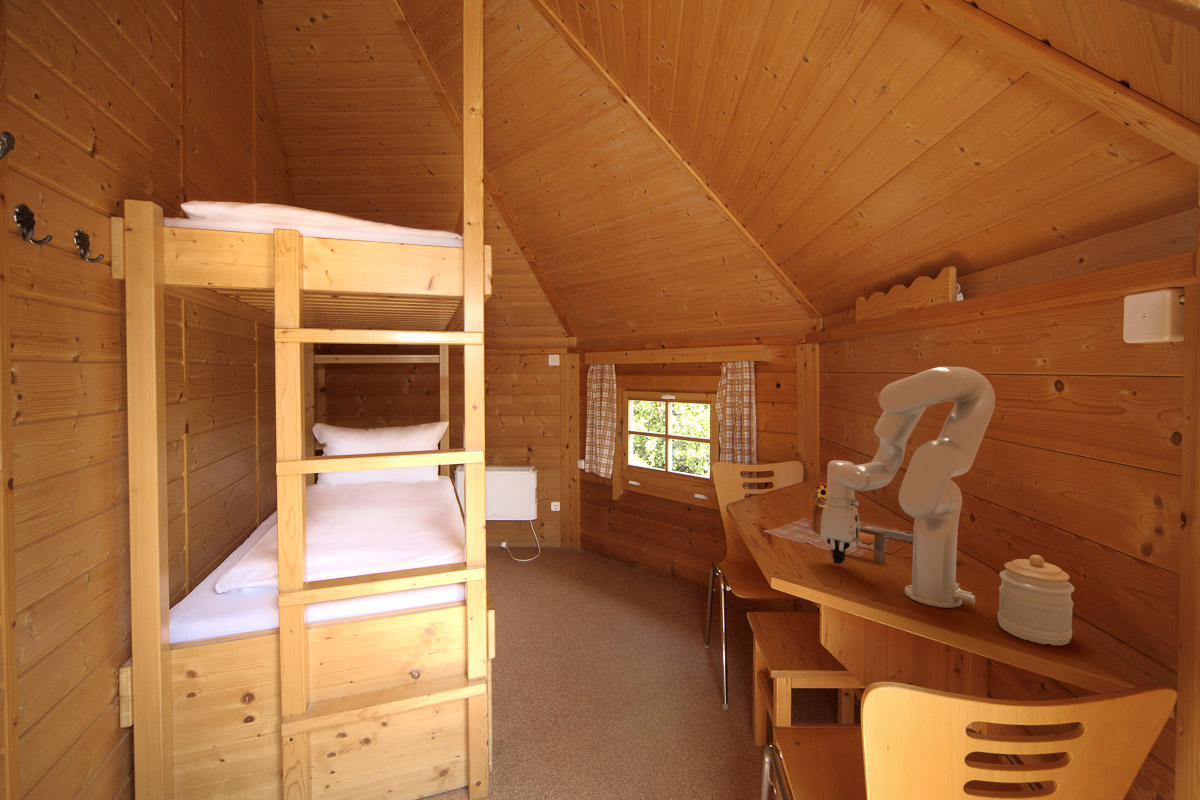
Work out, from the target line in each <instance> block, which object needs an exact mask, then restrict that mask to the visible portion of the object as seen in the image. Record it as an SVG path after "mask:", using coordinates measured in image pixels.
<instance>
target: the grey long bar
mask: <svg viewBox="0 0 1200 800" xmlns="http://www.w3.org/2000/svg"><path fill="white" fill-rule="evenodd" d="M867 527H870V528H872V529H877V530H882V531H885V536H889V537H894V538H898V539H902V540H907V541H912V542H913V535H914V534H912V533H905V532H901V531H896V530H892V529H891V530H890V529H887V528H882V527H876V526H872V525H868V526H867Z"/></svg>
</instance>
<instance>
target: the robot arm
mask: <svg viewBox="0 0 1200 800" xmlns="http://www.w3.org/2000/svg"><path fill="white" fill-rule="evenodd" d="M944 402H945V403H946V402H954V405H953V407H952V409H951V411H950V412H949V413H948V415H947V416H946V419H945V421H944V423H943V425H942V428H941V431H940V433H939V435H938V437H937V439H933V440H929V441H926V442H924V443H922V444H921V445H919V447H917V449H916V450H915V451H914V452H913V455H912V457H911V459H910V462H909V465H908V467H907V469H906V472H905V475H904V477H903V480H902V483H901V485H900V487H899V491H898V503H899V505H900V508H901V509H902V510H903V512H904V513H905V514H906V515H908V516H909V517H911V518H914V523H913V534H912V535H913V543H912V544H913V545H912V567H911V568H912V572H911V584H909V585H906V586H905V587H904V594H905V595H906V596H907V597H908V598H909V597H910V598H909V599H911V600H913V601H916V602H917V603H921V604H922V605H923V604H924V605H928V606H932V607H937V608H945V609H948V608H949V609H950V608H951V609H952V608H958V607H960V606H961V605H963V601H964V602H967V603H970V604H975V603H976V595H975V594H974V595H973V592H970V591H967V590H966V591H965V590H962V588H960V583H958V582H956V580H957V579H956V578H957V577H956V575H957V554H958V553H957V552H958V550H957V549H958V548H957V547H958V531H959V530H958V529H959V521H960V516H961V515H960V514H961V510H962V506H963V497H962V496H963V495H962V491H961V489H960V487H959V485H957V484H956V483H955V481H953V480H951V479H952V478H953V477H958V476H961V475H964V474H966V473H968V471H970V470H971V467H972V466H973V463H974V461H975V458H976V455H977V453H978V450H979V448H980V445H981V443H982V441H983V439H984V436H985V433H986V431H987V428H988V426H989V423H990V421H991V419H992V417H993V414H994V410H995V406H996V394H995V390H994V388H993V385H992V383H990V381H989V379H987V378H986V377H985V376H984V375H983V374H981V372H978V371H977V370H975V369H972V368H969V367H963V366H936V367H934V368H930V369H926V370H924V371H921V372H919V373H916V374H913V375H910V376H908V377H904V378H900V379H898V380H895V381H893V382H889V384H887V385H886V386H884V387H883V388H882V390H881V391H880V394H879V396H878V404H879V406H880V407H881V409H882V410H883V411H882V414H881V416H880V417H879V419H878V421H877V422H876V424H875V426H874V429H873V431H874V434H875V435H876V436H877V437H878V438H879V446H878V449H877V451H876V454H875V456H874V457H873V458H872V460H871V462H867V463H866V462H865V463H862V464H854V462H851V461H848V460H839V459H833V460H830V461H828V464H827V471H826V472H827V473H826V478H827V479H826V503H825V504H824V505H823V509H822V513H821V521H820V539H821V540H823V541H824V542H827V543H828V544H829V546H830V548H831V550H832V549H833V552H832V559H833V564H837V565H842V564H843V563H844V562H845V560H846V559H845V558H846V550H847V549H848V548H858V547H857V546H858V540H859V537H860V528H859V526H860V518H859V513H858V512H859V511H858V508H857V507H858V506H860V505H859V504H860V502H859V501H858V500H856V497H855V492H856V491H857V492H868V491H872V490H877V489H881V488H885V486H888V484H889V483H890V482H891V481H893V479H894V477H895V475H896V474H897V472H898V470H899V468H901V465H902V463H903V461H904V458H905V452H906V443H907V441H908V439H909V438H910V436H911V434H912V433H913V430H914V429H915V427H916V426H917V424H918V423H919V421H920V419H921V417H922V416H923V415H924V413H925V412H926V410H927V407H931V406H933V405H936V404H940V403H944ZM856 506H857V507H856ZM838 541H840V546H839V542H838Z"/></svg>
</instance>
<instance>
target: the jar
mask: <svg viewBox="0 0 1200 800" xmlns="http://www.w3.org/2000/svg"><path fill="white" fill-rule="evenodd" d="M1003 566H1004V568H1005V570H1002V571H1000V572H999V577H1000V578H1001V585H1000V586H998V591H999V598H998V603H999V605H998V612H997V620H998V625H999V627H1000V628H1001V629H1002V630H1003V631H1005V632H1006V631H1007V632H1006V633H1008V634H1010V635H1013V636H1015V637H1017V638H1019V639H1022V640H1025V641H1028V640H1029V642H1032V643H1035V642H1036V644H1041V645H1046V644H1051V645H1050V646H1064V645H1067V644H1068V645H1069V644H1070V643H1071V640H1072V637H1073V628H1072V627H1073V626H1072V625H1073V624H1072V622H1073V606H1074V601H1073V600H1072V596H1071V595H1072V593H1073V592H1074V591H1075V586H1074V585H1072V583H1070V582H1069V580H1070V578H1071V576H1070V575H1069V574H1068V573H1067V572H1066V571H1064V570H1063V569H1062V568H1060V567H1058V566H1057V565H1054V564H1052V563H1049V562H1046V561H1045V559H1044V558H1043V557H1042V556H1041V555H1038V554H1032V555H1030V556H1029V558H1028V559H1026V558H1018V559H1013V560H1012V561H1008V562H1005V563H1004V565H1003Z"/></svg>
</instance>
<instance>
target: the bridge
mask: <svg viewBox="0 0 1200 800" xmlns="http://www.w3.org/2000/svg"><path fill="white" fill-rule="evenodd" d="M867 527H868V526H862V525H859V528H860V532H861V533H866V534H870V535H875V538H874V551H873V563H874V562H875V563H874V564H878V563H879V564H878V565H882V564H883V562H884V563H885V557H886V555H885V554H886V553H885V541H886V538H885V531H882V530H877V529H872V528H867ZM838 542H839V546H840V541H838ZM831 553H833V549H832V548H831ZM881 563H882V564H881Z"/></svg>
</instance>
